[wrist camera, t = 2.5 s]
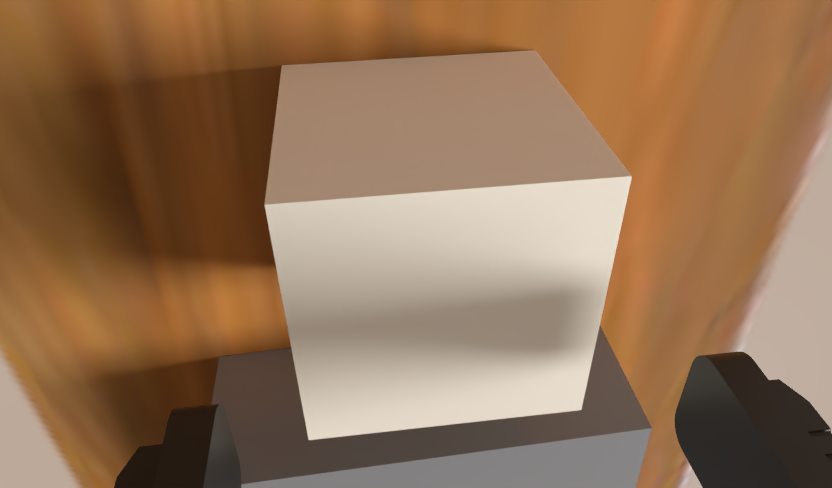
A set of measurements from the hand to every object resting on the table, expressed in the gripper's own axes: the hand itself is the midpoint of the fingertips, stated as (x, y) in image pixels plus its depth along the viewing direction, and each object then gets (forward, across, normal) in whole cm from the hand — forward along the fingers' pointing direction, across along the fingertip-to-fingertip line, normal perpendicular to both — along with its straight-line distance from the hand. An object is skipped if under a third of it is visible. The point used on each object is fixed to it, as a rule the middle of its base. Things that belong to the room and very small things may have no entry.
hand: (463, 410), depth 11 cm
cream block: (+8, 0, 0) cm, 8 cm away
